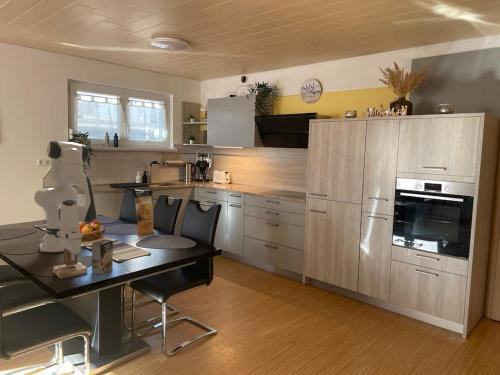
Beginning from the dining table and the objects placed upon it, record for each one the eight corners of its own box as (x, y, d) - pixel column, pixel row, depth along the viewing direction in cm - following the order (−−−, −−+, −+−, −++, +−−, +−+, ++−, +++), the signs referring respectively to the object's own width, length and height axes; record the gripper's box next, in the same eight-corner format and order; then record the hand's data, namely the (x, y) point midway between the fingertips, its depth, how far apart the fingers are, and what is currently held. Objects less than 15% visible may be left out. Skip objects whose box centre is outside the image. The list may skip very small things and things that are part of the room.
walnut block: (64, 263, 193) (63, 248, 192) (74, 261, 196) (73, 247, 195) (67, 266, 189) (66, 251, 188) (77, 264, 193) (77, 249, 192)
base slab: (53, 271, 193) (53, 266, 193) (79, 267, 202) (79, 261, 202) (60, 278, 185) (60, 272, 184) (87, 273, 193) (87, 267, 193)
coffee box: (101, 274, 192) (101, 244, 191) (91, 273, 194) (91, 243, 192) (113, 269, 201) (113, 240, 199) (103, 267, 203) (103, 239, 201)
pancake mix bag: (131, 235, 274) (131, 197, 271) (150, 230, 291) (150, 195, 287) (138, 236, 271) (138, 198, 268) (156, 231, 287) (157, 195, 284)
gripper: (57, 228, 196) (57, 254, 198) (70, 237, 181) (70, 264, 183) (69, 227, 200) (70, 252, 202) (83, 235, 186) (83, 262, 187)
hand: (70, 258), depth 192 cm, fingers closed on walnut block, 5 cm apart
